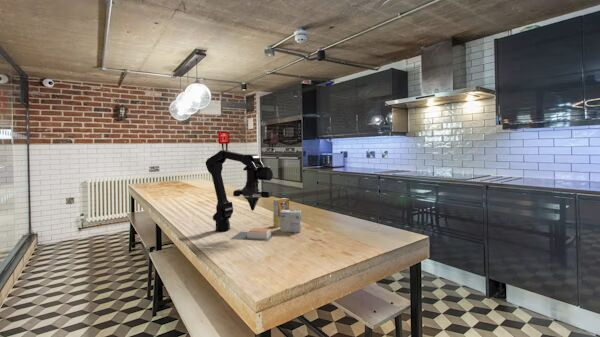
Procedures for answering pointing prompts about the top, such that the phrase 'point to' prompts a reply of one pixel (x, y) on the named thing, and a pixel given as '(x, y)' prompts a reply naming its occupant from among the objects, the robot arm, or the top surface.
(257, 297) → the top surface
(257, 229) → the ivory tile
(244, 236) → the rubber mat
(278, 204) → the candy box
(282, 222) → the light bulb box
